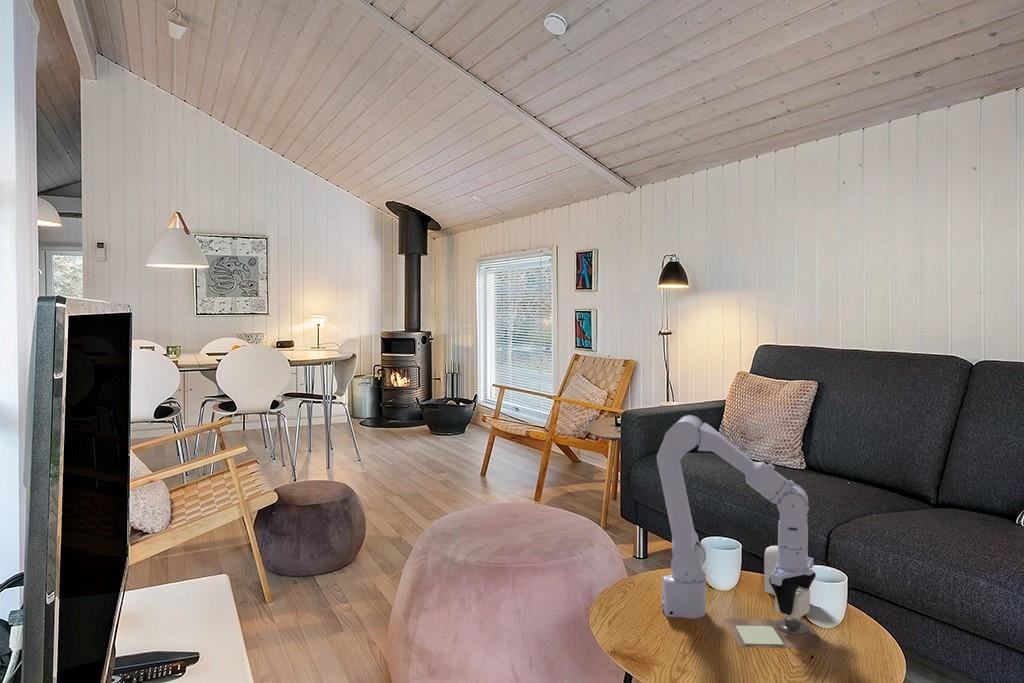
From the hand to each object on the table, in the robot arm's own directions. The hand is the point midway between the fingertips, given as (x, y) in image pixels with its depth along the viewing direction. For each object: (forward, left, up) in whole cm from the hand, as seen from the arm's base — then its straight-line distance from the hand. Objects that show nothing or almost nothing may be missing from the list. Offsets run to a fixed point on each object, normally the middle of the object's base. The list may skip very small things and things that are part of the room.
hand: (792, 609), depth 140 cm
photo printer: (+4, +16, -5) cm, 17 cm away
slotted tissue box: (0, 0, 0) cm, 0 cm away
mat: (-8, -4, -4) cm, 10 cm away
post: (0, 0, -4) cm, 4 cm away
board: (-4, -3, -5) cm, 7 cm away
